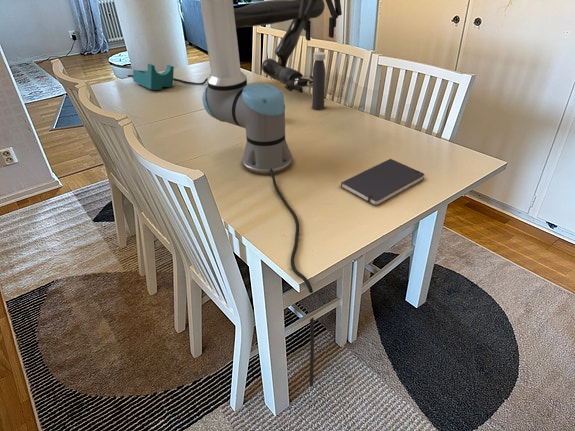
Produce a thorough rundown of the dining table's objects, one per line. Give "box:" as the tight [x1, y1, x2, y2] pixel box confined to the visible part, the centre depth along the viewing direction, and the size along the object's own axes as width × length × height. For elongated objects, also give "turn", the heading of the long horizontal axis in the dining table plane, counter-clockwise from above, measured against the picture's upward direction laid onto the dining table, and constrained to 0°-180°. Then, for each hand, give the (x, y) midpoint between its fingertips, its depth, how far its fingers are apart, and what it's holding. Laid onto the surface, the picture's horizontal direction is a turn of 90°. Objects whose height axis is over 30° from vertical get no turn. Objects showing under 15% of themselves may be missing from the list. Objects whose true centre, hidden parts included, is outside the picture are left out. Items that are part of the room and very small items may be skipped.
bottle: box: [311, 60, 326, 111], centre depth 157 cm, size 5×5×21 cm
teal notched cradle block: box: [132, 63, 175, 91], centre depth 189 cm, size 18×11×10 cm, turn 43°
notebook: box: [340, 158, 425, 206], centre depth 114 cm, size 13×2×21 cm
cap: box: [312, 51, 326, 61], centre depth 151 cm, size 4×4×2 cm
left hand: (311, 88), depth 164 cm, fingers open, 8 cm apart
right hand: (319, 38), depth 148 cm, fingers open, 9 cm apart
